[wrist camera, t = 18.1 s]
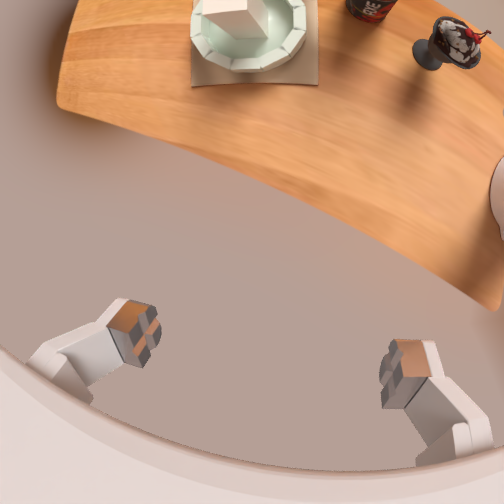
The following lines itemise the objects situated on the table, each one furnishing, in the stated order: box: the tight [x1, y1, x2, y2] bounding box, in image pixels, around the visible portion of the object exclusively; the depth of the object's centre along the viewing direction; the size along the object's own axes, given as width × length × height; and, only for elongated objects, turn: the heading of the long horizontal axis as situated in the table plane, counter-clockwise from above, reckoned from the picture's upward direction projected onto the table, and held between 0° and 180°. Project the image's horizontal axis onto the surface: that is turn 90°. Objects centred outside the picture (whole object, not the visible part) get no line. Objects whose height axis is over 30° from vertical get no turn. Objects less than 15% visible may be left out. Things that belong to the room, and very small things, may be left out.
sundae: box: [413, 16, 491, 70], centre depth 18 cm, size 7×7×15 cm
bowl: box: [190, 0, 307, 73], centre depth 27 cm, size 15×15×4 cm
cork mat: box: [191, 0, 318, 87], centre depth 29 cm, size 18×18×1 cm
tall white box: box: [202, 0, 268, 40], centre depth 23 cm, size 4×4×12 cm
